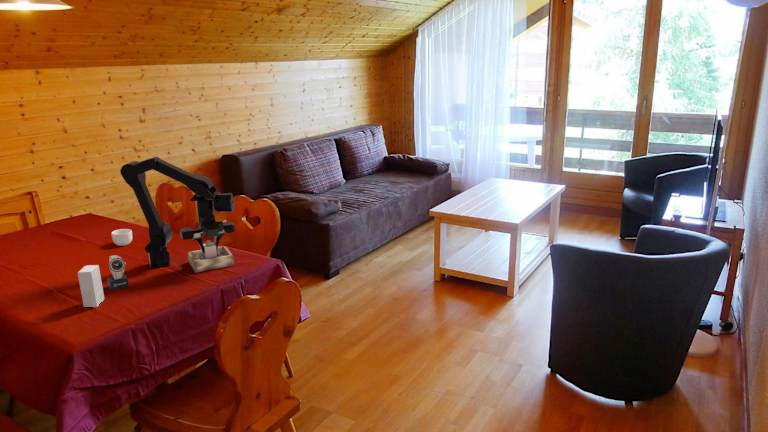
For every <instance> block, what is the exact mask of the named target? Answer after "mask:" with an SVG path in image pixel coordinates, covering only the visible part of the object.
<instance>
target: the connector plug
mask: <svg viewBox="0 0 768 432" xmlns="http://www.w3.org/2000/svg"><path fill="white" fill-rule="evenodd" d="M203 246H204V251H205V254H204V259H205V258H211V257H216V256H217V252H216V245H215V244H214V242H212V240H210V239H209V240H206V241H205V243H203Z"/></svg>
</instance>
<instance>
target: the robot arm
mask: <svg viewBox="0 0 768 432" xmlns="http://www.w3.org/2000/svg"><path fill="white" fill-rule="evenodd" d="M152 170H153V171H156V172H157V173H160V174H162V175H164V176H166V177H168V178H170V179H173V180H174V181H177V182H179V183H181V184H183V185H184V186H186V188H187V189H188V190H190V191H191V192H193V196H192V197H191V198H190V199H189V201H190V202H196V211H197V212H196V213H197V220H198V221H197V222H198V228H196V229H193V228H192V227H184V228H181V229H180V230H179V236H180V237H181V239H182V240H183V241H185V240H187V241H188V240H193V241H197V243H198V246H199V247H200V250H202V252H203V254H205V251H204V246H203V244H204V242H203V237H202V236H201V235H204V237H205V238H211V237H213V243H214V244H215V245H216V252H217V248H218V247H219V244H220V241H221V238H222V237H223V236H225V235H226V234H229V233H230V234H232V233H235V232H236V228H235V225H234V223H232V222H231V221H225V222H223V220H220V221H217V220H216V217H215V211H216V212H217V213H234V212H235V209H236V200H235V198H234V196H233V192H227V193H221V192H220V191H219V190H218V189H217V188H216V186H215V185H214V183H213V181H212V179H211V178H210V177H208V176H205V175H202V174H196V173H193V172H192V173H191V172H188V171H186V170H185V169H182V168H180V167H178V166H176V165H174V164H172V163H170V162H168V161H166V160H163V159H161V158H160V157H159V156H153V157H150V158H148V159H145V160H141V161H138V160H132V161H130V162H128V163H125V164H124V165H122V166H121V168H120V171H119V173H120V175H121V177H122V179H123V181H124V182H125V183H126V184H127V185H128V186H129V187H130V188H132V191H133V192H134V195H135V198H136V200H137V202H138V205H139V206H140V209H141V211H142V214H143V216H144V218H145V220H146V223H147V224H148V237H149V242H148V243H147V244H146V245H145V247H144V250H145V252H146V253H147V254H148V260H149V262H148V264H149V266H150V269H156V268H162V267H167V266H168V267H169V266H170V263H171V258H170V257H171V256H170V250H168V248H167V246H168V244H169V242H170V241H171V240H172V238H173V233H174V231H173V230H172V228H171V226H170V222H164V221H163V220H162V218H161V216H160V214H159V212H158V209H157V207H156V205H155V202H154V201H153V198H152V196H151V193H150V191H149V188H148V186H147V182H146V181H147V179H146V178H147V177H146V176H147V175H146V173H147V172H148V171H152Z"/></svg>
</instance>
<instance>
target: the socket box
mask: <svg viewBox="0 0 768 432" xmlns="http://www.w3.org/2000/svg"><path fill="white" fill-rule="evenodd" d="M187 258H188V260H187V261H188V263H189V265H190V268H191V269H192V270H193V272H194V273H200V272H206V271H211V270H217V269H222V268H227V267H228V268H229V267H233V266H235V262H234V254H233V253H232V252H231V251H230V250H229V248H228V247H227V246H226V245H223V246H218V248H217V256H216V257H211V258H205V259H204V254H203V252H202V250H201V249H200V250H192V251H188V252H187Z"/></svg>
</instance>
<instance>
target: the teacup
mask: <svg viewBox="0 0 768 432" xmlns="http://www.w3.org/2000/svg"><path fill="white" fill-rule="evenodd" d="M111 239H112V242H113V244H115V245H117V246H118V247H119V246H120V247H121V246H128V245H129V244H130V243H131V242H132V241H133V231H132V229H129V228H120V229H115V230H113V231H112V232H111Z"/></svg>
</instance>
